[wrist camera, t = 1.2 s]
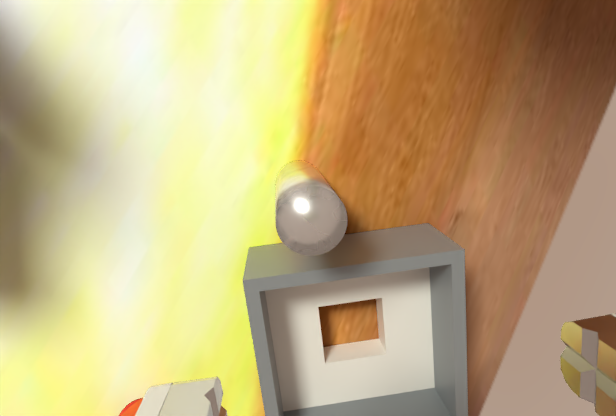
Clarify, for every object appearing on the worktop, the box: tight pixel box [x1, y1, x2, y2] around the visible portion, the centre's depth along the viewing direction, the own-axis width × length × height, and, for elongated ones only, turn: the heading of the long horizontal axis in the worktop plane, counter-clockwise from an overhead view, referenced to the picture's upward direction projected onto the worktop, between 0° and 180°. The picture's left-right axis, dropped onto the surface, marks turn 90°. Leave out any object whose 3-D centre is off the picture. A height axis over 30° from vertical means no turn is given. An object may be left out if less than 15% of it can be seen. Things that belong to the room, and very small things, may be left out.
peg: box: [275, 160, 348, 256], centre depth 28 cm, size 4×4×12 cm
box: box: [243, 223, 468, 416], centre depth 34 cm, size 16×16×7 cm
